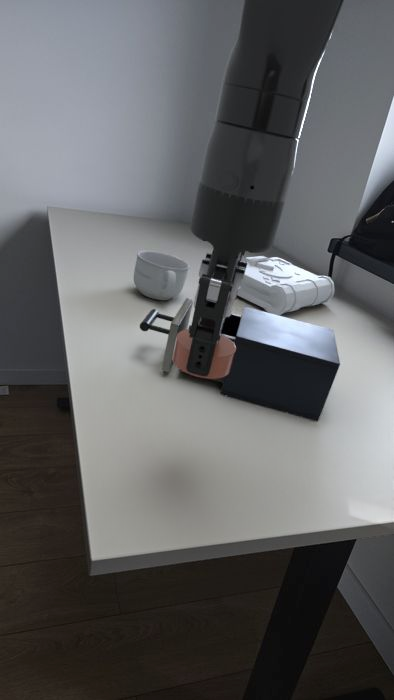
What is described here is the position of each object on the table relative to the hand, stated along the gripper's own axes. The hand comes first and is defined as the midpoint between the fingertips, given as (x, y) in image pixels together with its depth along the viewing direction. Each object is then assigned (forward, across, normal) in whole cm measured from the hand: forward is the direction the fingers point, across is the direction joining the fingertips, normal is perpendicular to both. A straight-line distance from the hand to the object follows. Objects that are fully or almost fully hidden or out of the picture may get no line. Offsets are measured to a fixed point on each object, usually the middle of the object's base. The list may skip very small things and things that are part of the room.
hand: (202, 357), depth 49 cm
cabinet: (+14, +25, -10) cm, 30 cm away
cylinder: (+1, 0, 0) cm, 1 cm away
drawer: (+14, +25, +2) cm, 28 cm away
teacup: (+15, +50, +15) cm, 54 cm away
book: (+15, +72, -10) cm, 74 cm away
